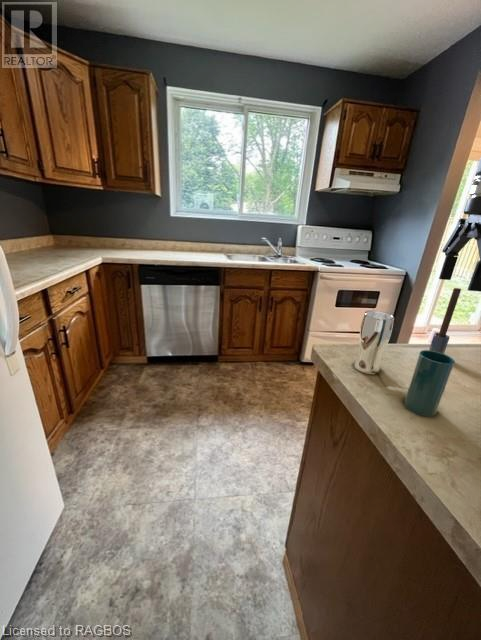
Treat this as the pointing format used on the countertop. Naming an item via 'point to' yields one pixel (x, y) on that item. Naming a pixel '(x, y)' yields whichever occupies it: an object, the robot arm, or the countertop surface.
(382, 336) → the beer glass
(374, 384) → the countertop surface
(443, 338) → the grey cylinder
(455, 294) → the brown stick
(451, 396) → the countertop surface
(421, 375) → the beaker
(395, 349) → the countertop surface
